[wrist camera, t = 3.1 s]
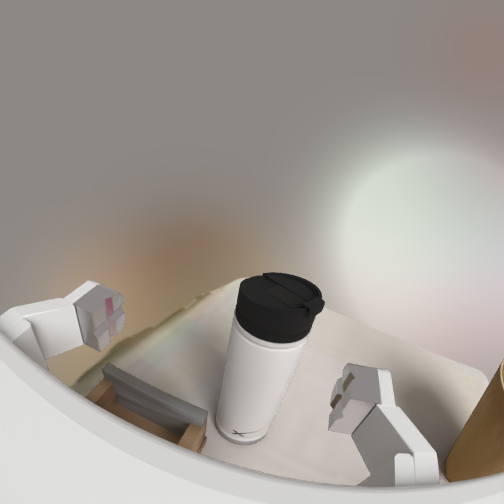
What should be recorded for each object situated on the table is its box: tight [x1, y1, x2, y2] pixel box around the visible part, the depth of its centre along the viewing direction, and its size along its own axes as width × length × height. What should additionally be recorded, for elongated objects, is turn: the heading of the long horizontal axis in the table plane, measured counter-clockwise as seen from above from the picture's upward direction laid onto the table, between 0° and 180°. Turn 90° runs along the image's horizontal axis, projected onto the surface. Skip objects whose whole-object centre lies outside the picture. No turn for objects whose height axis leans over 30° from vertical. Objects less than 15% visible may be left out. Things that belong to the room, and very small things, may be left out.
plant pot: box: [445, 359, 504, 483], centre depth 18 cm, size 15×15×16 cm
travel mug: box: [215, 272, 325, 445], centre depth 25 cm, size 6×7×20 cm
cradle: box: [86, 363, 208, 453], centre depth 21 cm, size 12×12×7 cm
